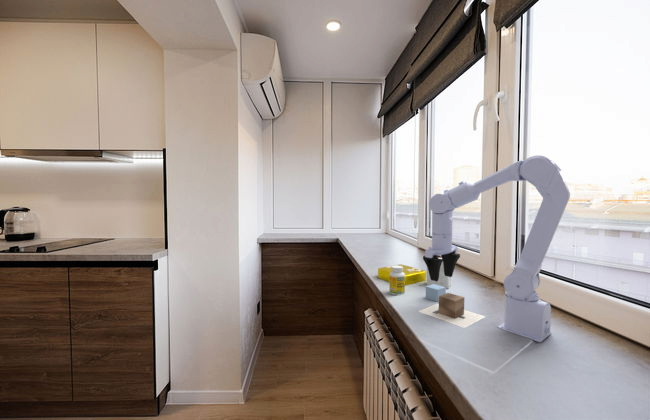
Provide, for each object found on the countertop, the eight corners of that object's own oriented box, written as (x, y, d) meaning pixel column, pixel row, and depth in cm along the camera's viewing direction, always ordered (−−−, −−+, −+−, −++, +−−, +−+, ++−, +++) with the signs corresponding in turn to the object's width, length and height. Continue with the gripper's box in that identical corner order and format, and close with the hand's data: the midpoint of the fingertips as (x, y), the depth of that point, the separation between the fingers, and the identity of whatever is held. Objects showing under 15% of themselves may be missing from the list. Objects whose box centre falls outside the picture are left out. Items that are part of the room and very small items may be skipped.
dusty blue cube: (445, 300, 98) (445, 287, 98) (437, 303, 95) (438, 289, 95) (433, 296, 101) (433, 283, 101) (425, 299, 99) (425, 286, 98)
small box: (451, 285, 114) (451, 258, 113) (448, 289, 109) (449, 261, 109) (429, 282, 118) (430, 256, 118) (426, 285, 113) (426, 258, 113)
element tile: (400, 273, 134) (400, 262, 133) (428, 281, 121) (428, 269, 121) (375, 278, 126) (375, 267, 125) (402, 287, 113) (402, 275, 113)
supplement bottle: (396, 290, 108) (396, 264, 108) (408, 294, 104) (408, 267, 103) (386, 292, 105) (386, 266, 105) (397, 296, 101) (397, 269, 100)
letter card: (485, 317, 84) (485, 316, 83) (464, 329, 76) (464, 327, 76) (440, 303, 95) (440, 302, 95) (418, 312, 87) (418, 311, 87)
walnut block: (464, 314, 85) (464, 297, 85) (454, 318, 82) (455, 301, 82) (447, 309, 89) (448, 292, 89) (438, 313, 86) (438, 296, 86)
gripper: (443, 231, 97) (442, 272, 97) (416, 234, 88) (415, 279, 88) (464, 233, 91) (463, 276, 92) (437, 236, 82) (437, 284, 83)
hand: (441, 278), depth 90 cm, fingers open, 7 cm apart
